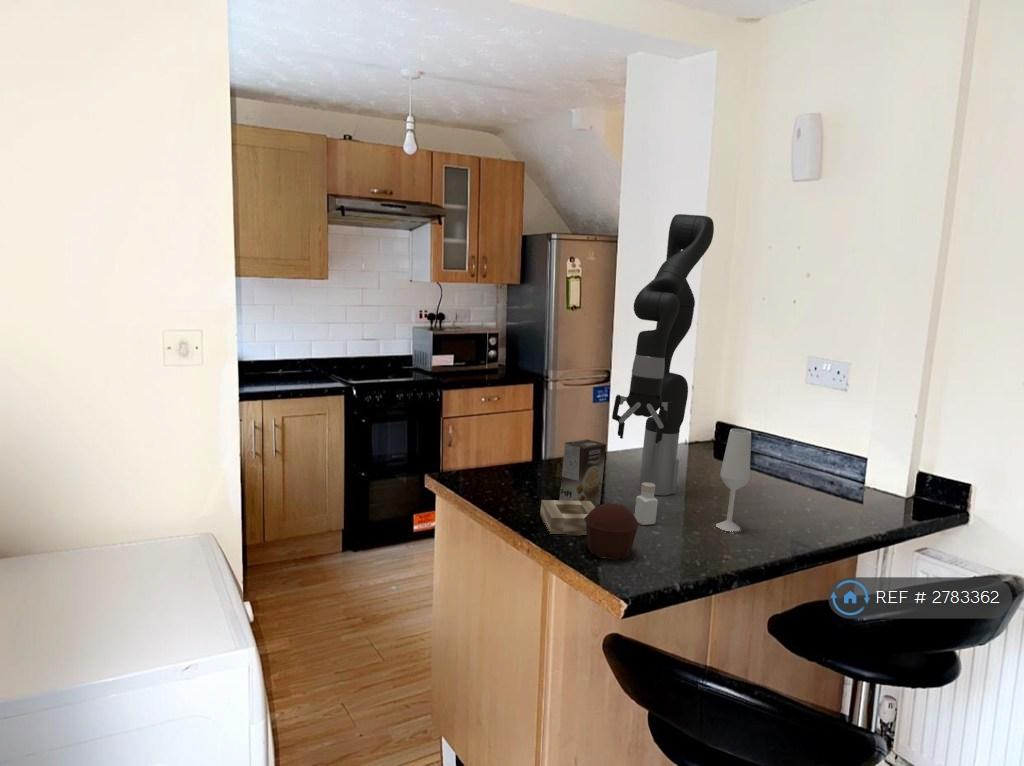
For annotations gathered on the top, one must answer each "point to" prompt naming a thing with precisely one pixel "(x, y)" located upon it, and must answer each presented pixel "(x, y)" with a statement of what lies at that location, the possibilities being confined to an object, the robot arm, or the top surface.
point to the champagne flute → (735, 470)
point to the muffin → (611, 530)
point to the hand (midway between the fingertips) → (638, 440)
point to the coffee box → (582, 471)
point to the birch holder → (565, 516)
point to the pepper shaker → (646, 505)
